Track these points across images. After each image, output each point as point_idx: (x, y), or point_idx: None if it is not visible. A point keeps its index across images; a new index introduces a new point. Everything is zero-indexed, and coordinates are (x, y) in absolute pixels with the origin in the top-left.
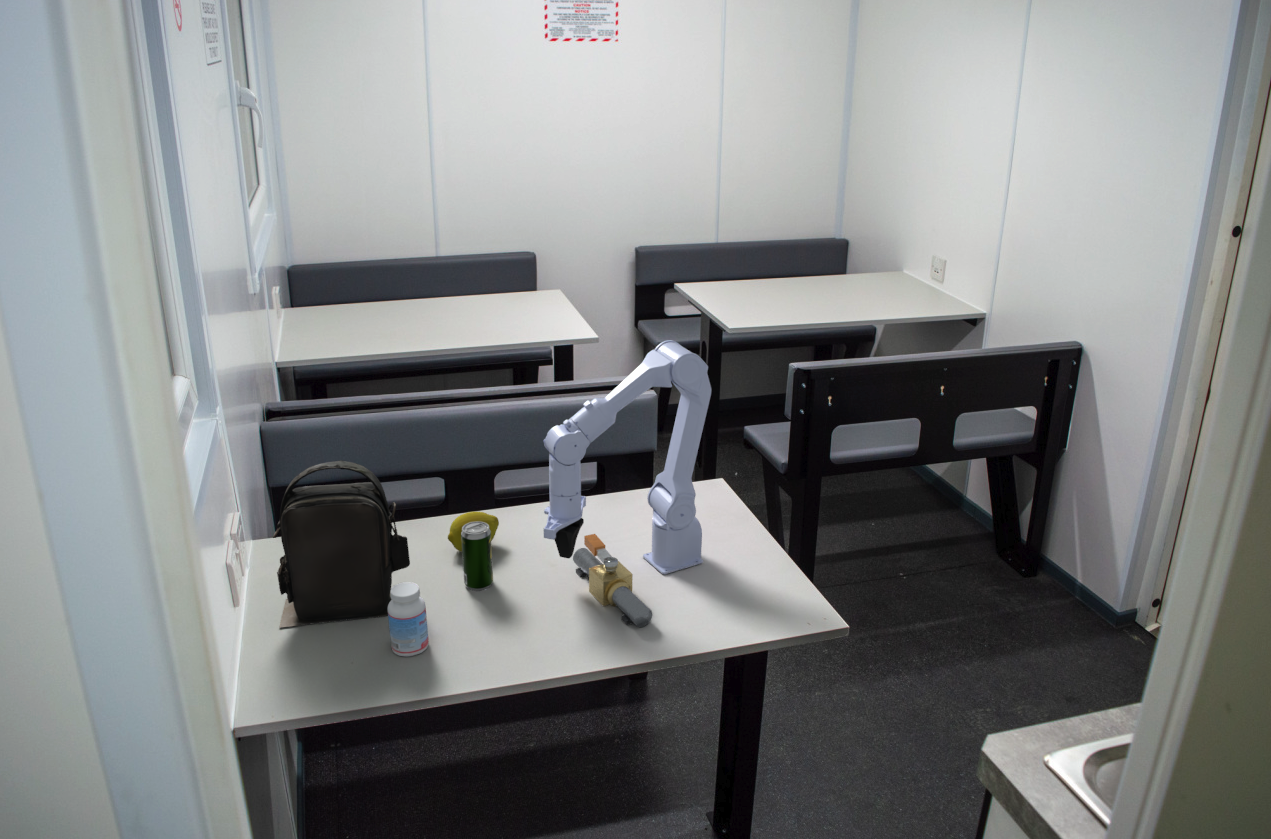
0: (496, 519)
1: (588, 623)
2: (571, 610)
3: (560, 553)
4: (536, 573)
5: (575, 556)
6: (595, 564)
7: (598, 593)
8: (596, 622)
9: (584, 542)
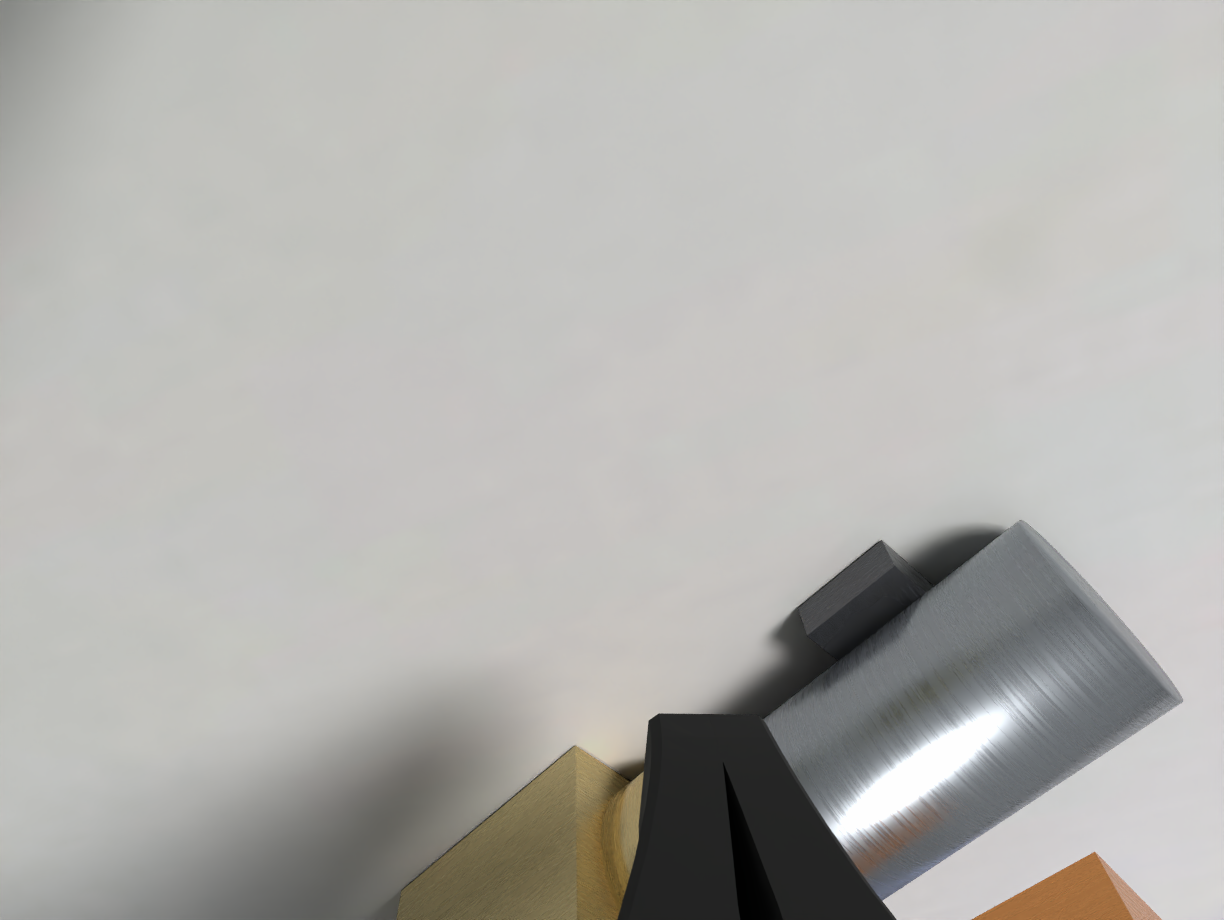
0: None
1: (120, 873)
2: (220, 716)
3: (649, 774)
4: (770, 123)
5: (1019, 612)
6: None
7: (447, 914)
8: (167, 910)
9: (1107, 877)
